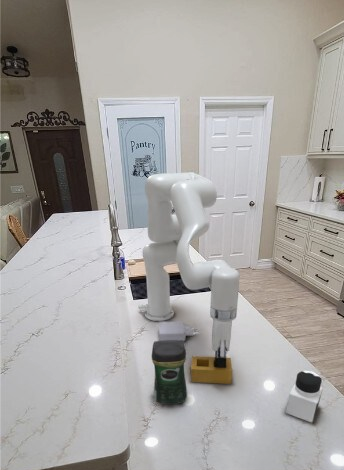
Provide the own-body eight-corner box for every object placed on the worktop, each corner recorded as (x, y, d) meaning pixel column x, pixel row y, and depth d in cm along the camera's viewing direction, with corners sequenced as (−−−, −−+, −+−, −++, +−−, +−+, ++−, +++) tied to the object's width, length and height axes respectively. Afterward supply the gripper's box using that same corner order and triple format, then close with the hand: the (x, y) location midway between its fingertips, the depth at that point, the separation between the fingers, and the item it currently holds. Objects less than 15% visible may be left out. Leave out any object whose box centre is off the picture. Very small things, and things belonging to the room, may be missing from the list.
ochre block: (190, 382, 103) (191, 369, 100) (191, 368, 109) (192, 356, 106) (231, 383, 101) (232, 370, 99) (229, 370, 108) (230, 357, 105)
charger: (199, 342, 123) (159, 343, 123) (197, 330, 131) (159, 331, 131) (199, 331, 120) (159, 332, 120) (197, 319, 129) (159, 320, 128)
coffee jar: (185, 386, 101) (185, 334, 92) (187, 405, 94) (187, 350, 85) (154, 388, 100) (151, 336, 92) (153, 406, 93) (150, 351, 85)
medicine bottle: (312, 423, 87) (321, 388, 81) (285, 413, 90) (292, 378, 84) (318, 407, 92) (326, 372, 86) (292, 398, 95) (298, 364, 90)
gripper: (210, 298, 101) (208, 348, 110) (210, 324, 87) (208, 379, 96) (234, 299, 100) (230, 349, 109) (239, 325, 86) (234, 380, 95)
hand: (220, 363), depth 102 cm, fingers closed on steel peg, 3 cm apart
